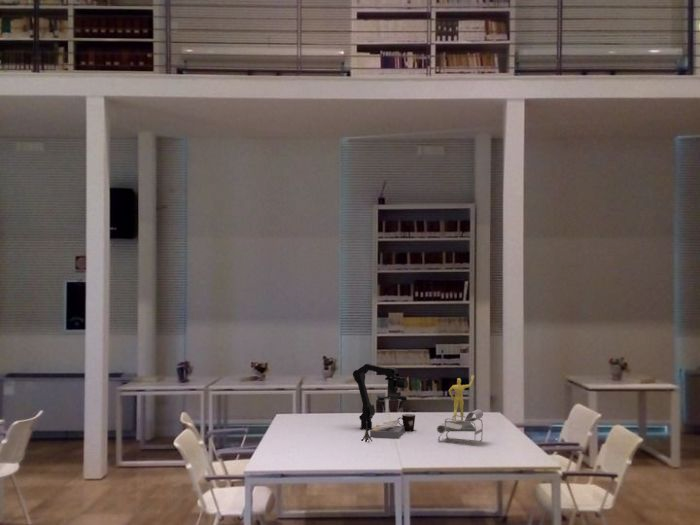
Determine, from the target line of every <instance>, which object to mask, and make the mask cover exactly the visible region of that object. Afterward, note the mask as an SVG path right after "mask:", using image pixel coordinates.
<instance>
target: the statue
mask: <svg viewBox="0 0 700 525" xmlns="http://www.w3.org/2000/svg"><path fill="white" fill-rule="evenodd" d="M470 378H471V380H470V382H469V384H461V383H462V379H461V378H460V377H458V378H456V380H457V381H456V384H452V386H451V387H450V388H449V389H448V393H449V395H450V397H451V401H452V402H453V416H454V415H457V414H458V413H457V411H458V408H459V411H460V414H459V416H464V415H465V413H464V403H465V402H464V396H463V393H464V391H465V389H468V388H470V387H472V385H473V381H474V379H475V375H471V377H470ZM452 390H454V393H455V394H454V395H453V394H452ZM456 418H457V416H454V418H453V419H456ZM460 419H461V420H462V421H457V419H456V420H453V421H452V420H446V423H447V422H450V423H454V424H459V425H463V423H464V422H463V421H464V417H460ZM447 428H449V427H446V429H447ZM448 431H449V430H447V431H446V432H448ZM449 432H475V426H474V424H473V423H469V425H468V426H466V427H464V428H462V429H453V428H452V429H451V430H450V431H449Z"/></svg>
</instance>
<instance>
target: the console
mask: <svg viewBox="0 0 700 525" xmlns="http://www.w3.org/2000/svg"><path fill="white" fill-rule="evenodd" d="M381 425H382V424H376V426H374V427H372V428H371V429H370V431H369V436H370V438H371V437H373V438H375V439H378V438H379V439H395V440H396V439H398V440H399V439H400V438H401V436H403V435H404V434H405V433H406V431H405V426H402V425H396V426H395V427H390V428H384V429H379V427H380V426H381ZM373 438H372V439H373Z"/></svg>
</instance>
